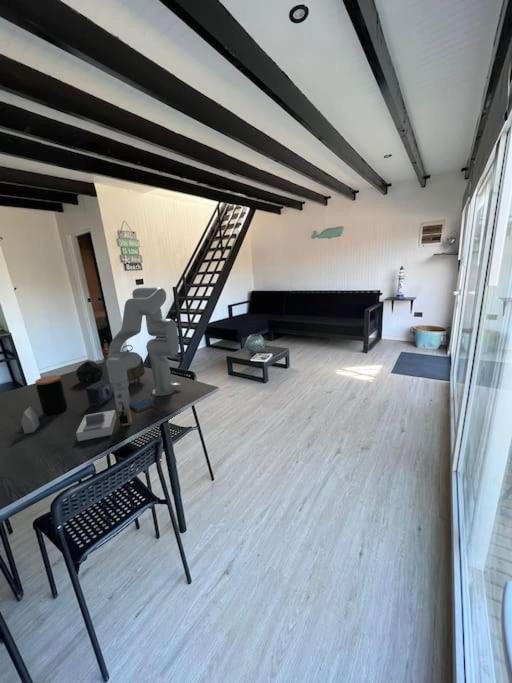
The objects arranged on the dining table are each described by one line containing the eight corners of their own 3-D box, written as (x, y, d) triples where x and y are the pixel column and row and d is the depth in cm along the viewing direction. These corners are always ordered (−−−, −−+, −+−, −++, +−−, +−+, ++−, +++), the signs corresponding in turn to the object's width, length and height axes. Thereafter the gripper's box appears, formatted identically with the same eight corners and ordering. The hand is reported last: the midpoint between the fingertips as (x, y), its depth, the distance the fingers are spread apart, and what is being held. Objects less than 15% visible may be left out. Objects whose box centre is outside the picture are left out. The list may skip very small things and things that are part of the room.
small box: (99, 407, 154) (95, 388, 151) (88, 406, 155) (84, 388, 152) (112, 398, 164) (109, 380, 161) (102, 397, 165) (99, 380, 162)
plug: (131, 420, 139) (128, 401, 136) (131, 424, 135) (127, 404, 132) (122, 421, 138) (119, 402, 135) (121, 426, 134) (118, 406, 131)
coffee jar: (72, 407, 155) (65, 375, 150) (53, 417, 145) (45, 384, 140) (58, 405, 158) (50, 374, 154) (38, 415, 149) (29, 382, 144)
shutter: (104, 420, 131) (103, 412, 130) (101, 428, 125) (100, 420, 124) (87, 423, 129) (85, 415, 128) (83, 431, 123) (81, 423, 122)
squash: (90, 367, 200) (76, 356, 188) (110, 368, 198) (98, 357, 186) (81, 386, 193) (67, 376, 180) (102, 388, 191) (89, 377, 178)
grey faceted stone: (39, 424, 139) (34, 405, 137) (34, 431, 133) (28, 412, 130) (30, 426, 138) (25, 407, 135) (24, 433, 132) (18, 413, 129)
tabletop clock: (139, 378, 191) (133, 341, 185) (148, 381, 186) (142, 343, 180) (118, 386, 180) (111, 347, 174) (127, 389, 175) (119, 349, 168)
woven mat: (156, 406, 153) (156, 402, 152) (136, 413, 146) (136, 410, 145) (147, 400, 160) (147, 396, 160) (128, 407, 153) (127, 403, 152)
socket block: (116, 417, 142) (115, 409, 141) (111, 434, 127) (109, 426, 126) (86, 422, 138) (85, 415, 137) (78, 441, 124) (76, 432, 123)
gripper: (126, 389, 124) (132, 425, 128) (130, 376, 140) (135, 408, 144) (107, 392, 122) (113, 429, 126) (113, 378, 138) (119, 411, 142)
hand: (125, 418), depth 135 cm, fingers open, 9 cm apart
